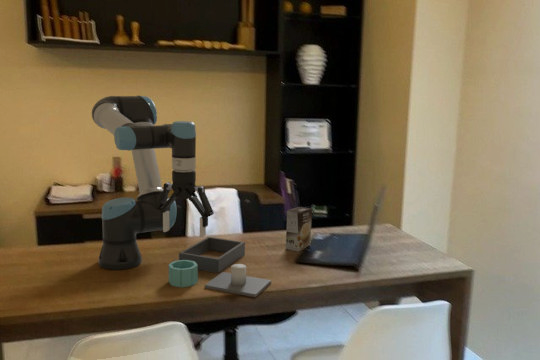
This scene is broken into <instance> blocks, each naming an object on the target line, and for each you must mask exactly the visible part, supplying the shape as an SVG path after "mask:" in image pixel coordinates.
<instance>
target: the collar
mask: <svg viewBox="0 0 540 360" xmlns="http://www.w3.org/2000/svg"><path fill="white" fill-rule="evenodd" d="M198 273H199V270H198V265H197V263H196V262H194V261H190V260H179V259H178V260H174V261H172V262H170V263H169V264H168V283H169V284H170V286H171V287H177V288H187V287H193V286H195V285H196V284H197V283H198V282H199V280H198V279H199V277H198Z"/></svg>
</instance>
